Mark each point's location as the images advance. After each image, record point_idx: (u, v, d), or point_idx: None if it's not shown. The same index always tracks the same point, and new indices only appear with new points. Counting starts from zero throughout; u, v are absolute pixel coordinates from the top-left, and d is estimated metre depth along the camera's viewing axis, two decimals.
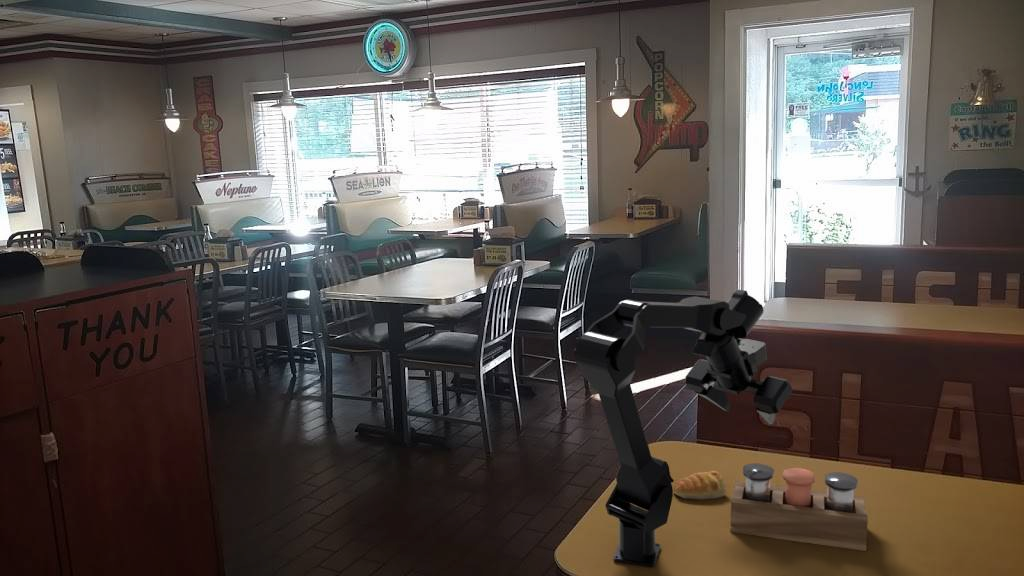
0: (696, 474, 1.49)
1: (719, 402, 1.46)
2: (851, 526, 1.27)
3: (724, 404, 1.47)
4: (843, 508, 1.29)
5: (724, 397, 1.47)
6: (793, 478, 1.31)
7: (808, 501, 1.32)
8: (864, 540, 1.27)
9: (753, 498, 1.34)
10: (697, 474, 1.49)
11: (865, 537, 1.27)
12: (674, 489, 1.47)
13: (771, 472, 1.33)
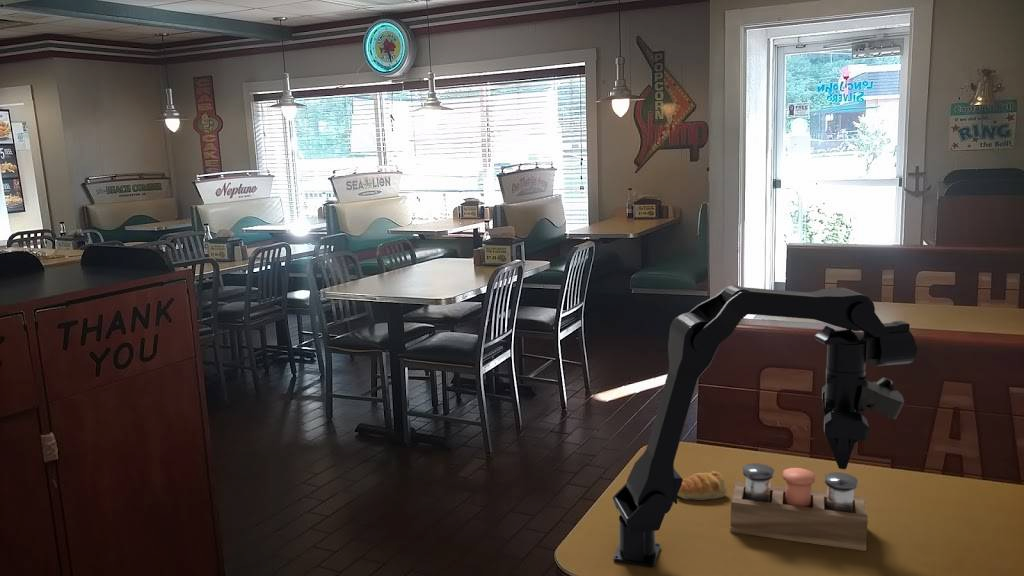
0: (697, 475, 1.49)
1: None
2: (851, 526, 1.27)
3: None
4: (843, 508, 1.29)
5: None
6: (793, 478, 1.31)
7: (808, 501, 1.32)
8: (864, 540, 1.27)
9: (753, 498, 1.34)
10: (698, 475, 1.48)
11: (865, 537, 1.27)
12: None
13: (771, 472, 1.33)
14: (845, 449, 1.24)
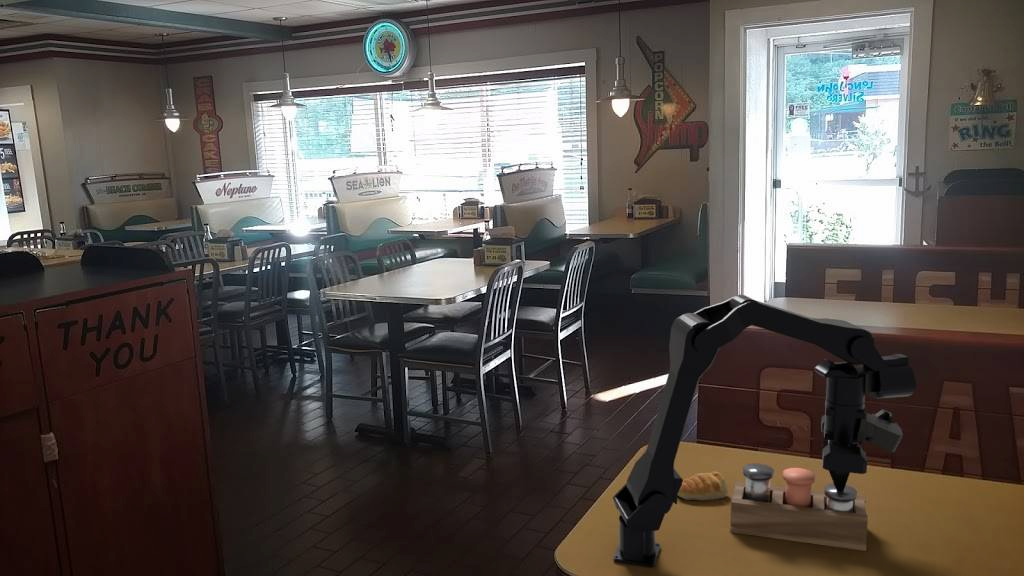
0: (698, 475, 1.48)
1: None
2: (851, 526, 1.27)
3: None
4: None
5: None
6: (793, 478, 1.31)
7: (808, 501, 1.32)
8: (864, 540, 1.27)
9: (753, 498, 1.34)
10: (699, 475, 1.48)
11: (865, 537, 1.27)
12: None
13: (771, 472, 1.33)
14: (843, 472, 1.28)
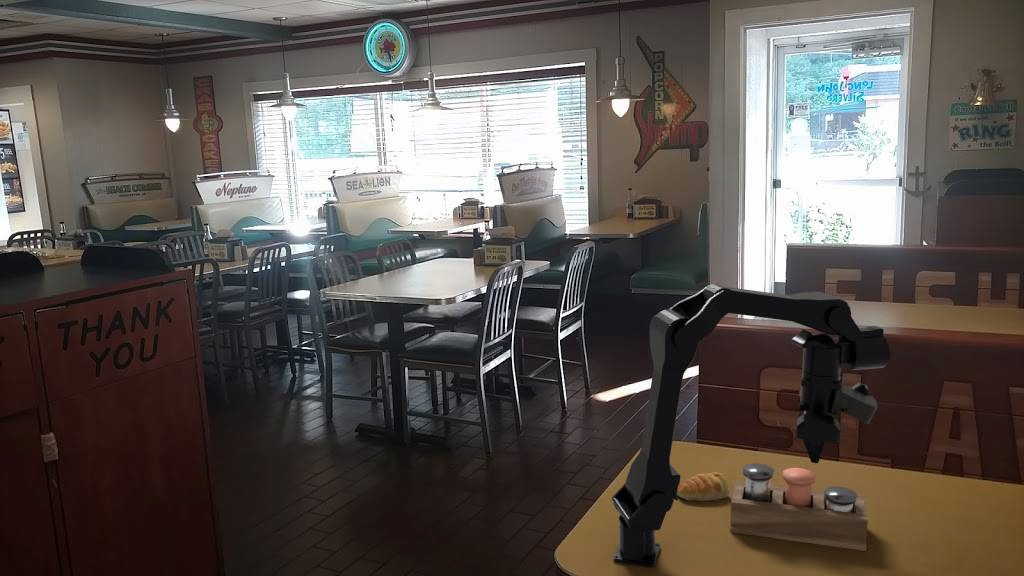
0: (699, 475, 1.48)
1: None
2: (851, 526, 1.27)
3: None
4: None
5: None
6: (793, 478, 1.31)
7: (808, 501, 1.32)
8: (864, 540, 1.27)
9: (753, 498, 1.34)
10: (700, 475, 1.48)
11: (865, 537, 1.27)
12: (677, 491, 1.46)
13: (771, 472, 1.33)
14: (817, 443, 1.29)
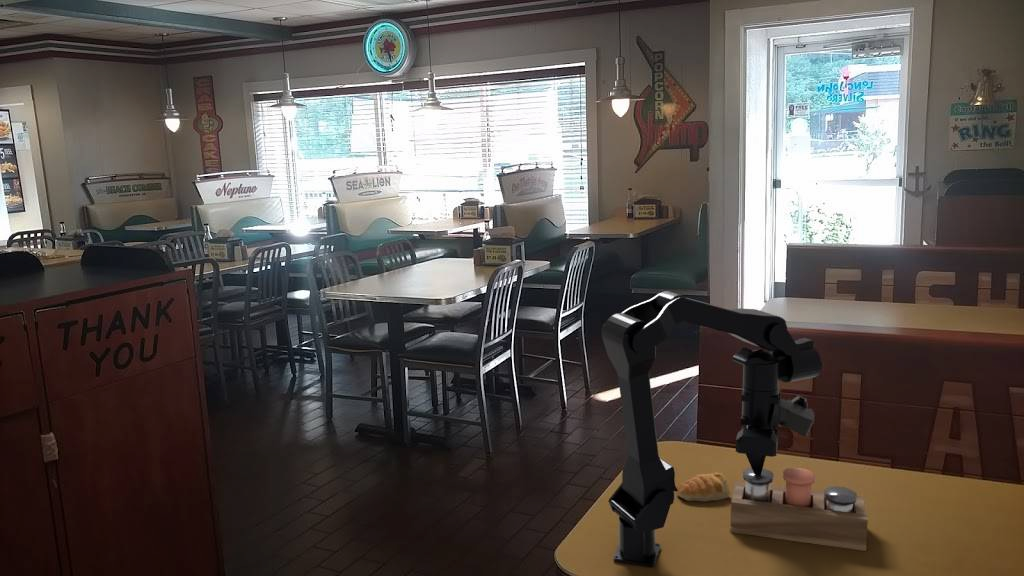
0: (699, 476, 1.48)
1: None
2: (851, 526, 1.27)
3: None
4: None
5: None
6: (793, 478, 1.31)
7: (808, 501, 1.32)
8: (864, 540, 1.27)
9: None
10: (700, 476, 1.48)
11: (865, 537, 1.27)
12: (678, 492, 1.46)
13: (771, 476, 1.34)
14: (759, 456, 1.33)
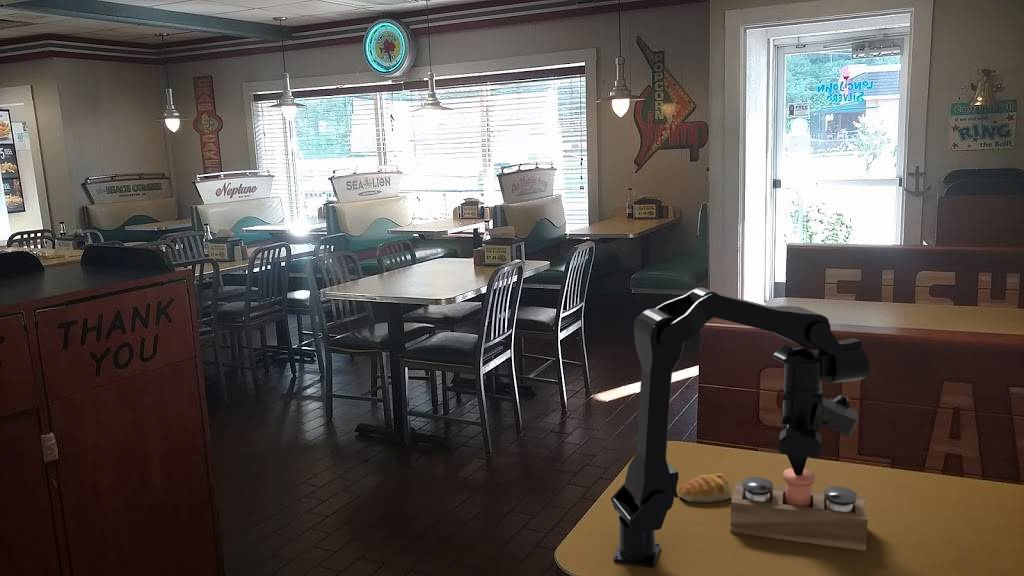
0: (701, 477, 1.48)
1: None
2: (851, 526, 1.27)
3: None
4: None
5: None
6: (793, 478, 1.31)
7: (808, 501, 1.32)
8: (864, 540, 1.27)
9: None
10: (702, 477, 1.47)
11: (865, 537, 1.27)
12: (680, 493, 1.46)
13: (770, 486, 1.34)
14: (800, 456, 1.30)
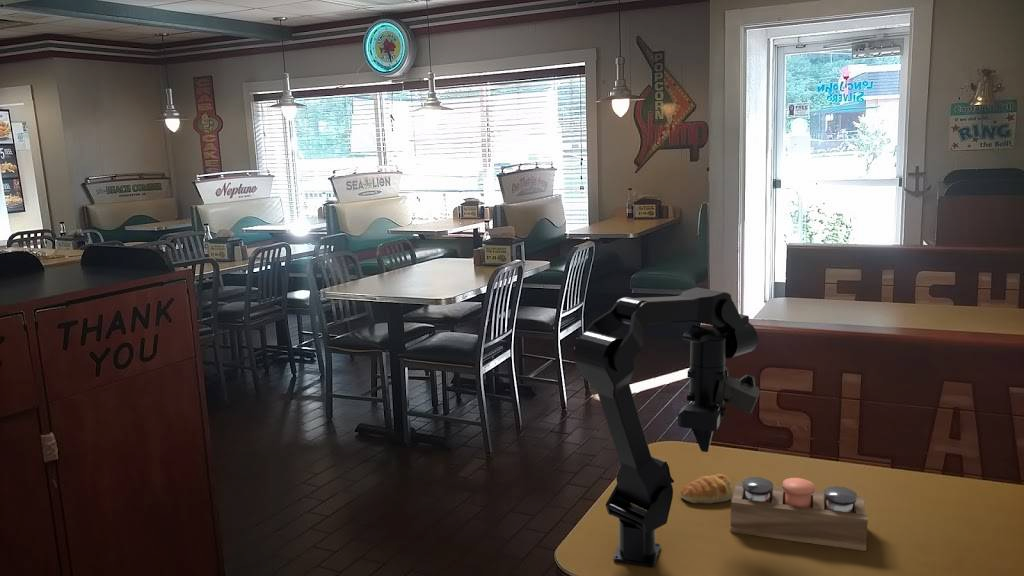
0: (703, 478, 1.47)
1: None
2: (851, 526, 1.27)
3: None
4: None
5: None
6: (793, 488, 1.31)
7: None
8: (864, 540, 1.27)
9: None
10: (704, 478, 1.47)
11: (865, 537, 1.27)
12: (682, 494, 1.45)
13: (770, 486, 1.34)
14: (705, 433, 1.34)
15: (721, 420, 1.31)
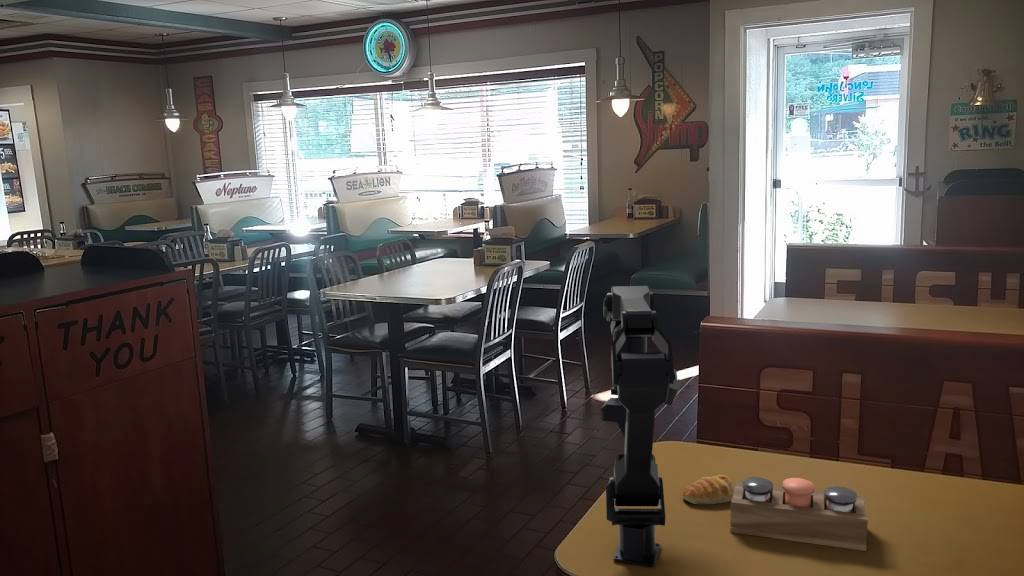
0: (704, 479, 1.47)
1: None
2: (851, 526, 1.27)
3: None
4: None
5: None
6: (793, 488, 1.31)
7: None
8: (864, 540, 1.27)
9: None
10: (706, 479, 1.47)
11: (865, 537, 1.27)
12: (684, 495, 1.45)
13: (770, 486, 1.34)
14: None
15: None
